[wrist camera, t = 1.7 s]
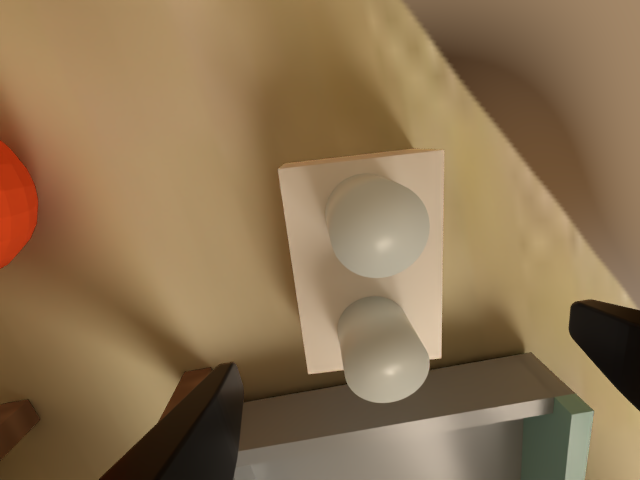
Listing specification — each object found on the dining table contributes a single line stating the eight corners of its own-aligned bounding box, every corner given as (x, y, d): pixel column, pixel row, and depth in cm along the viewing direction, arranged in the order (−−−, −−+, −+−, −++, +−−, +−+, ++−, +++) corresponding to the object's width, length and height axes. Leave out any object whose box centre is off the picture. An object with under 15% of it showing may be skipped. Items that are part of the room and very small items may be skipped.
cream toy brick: (412, 148, 14) (482, 151, 9) (414, 315, 17) (469, 403, 11) (284, 163, 14) (269, 176, 9) (307, 328, 17) (308, 423, 11)
